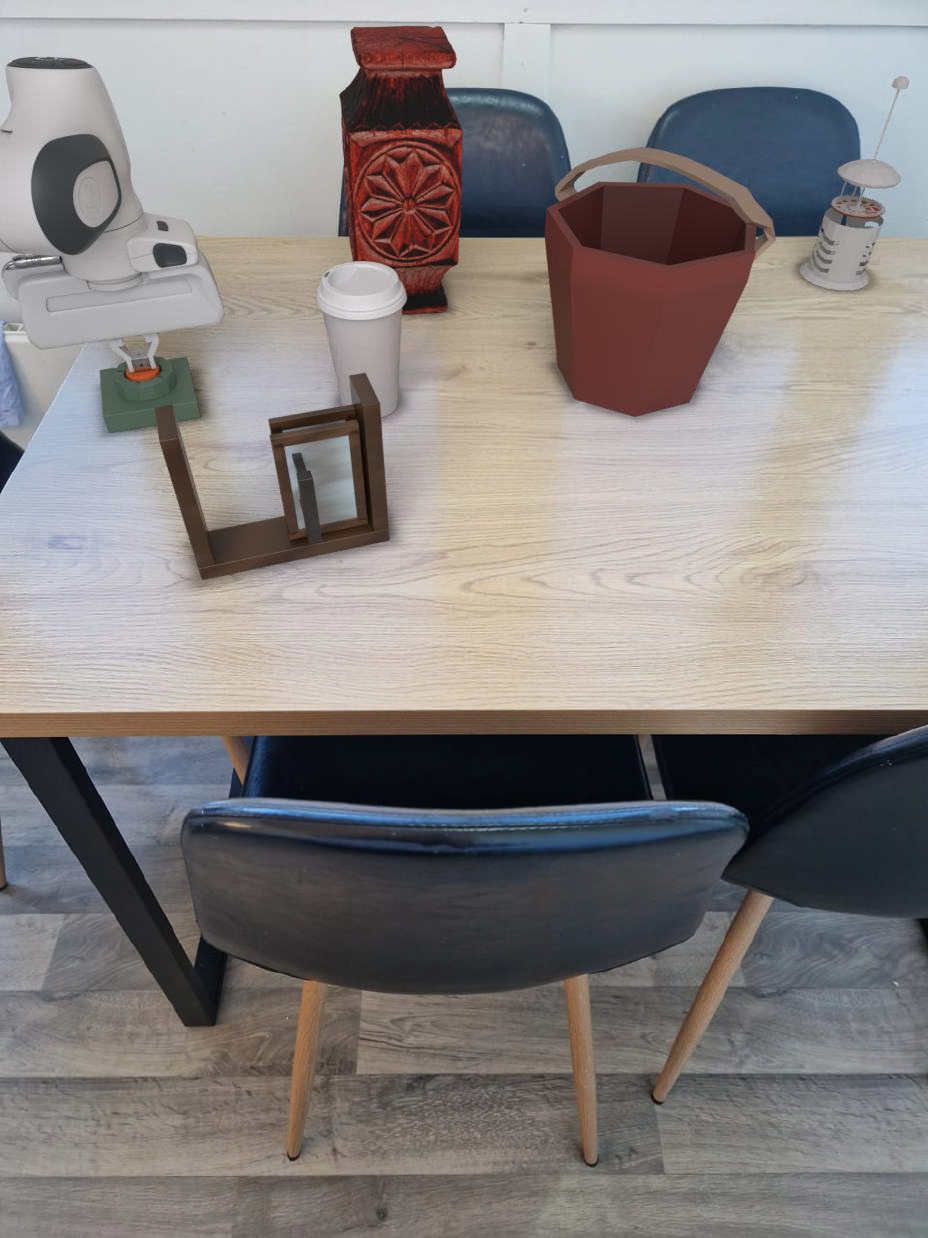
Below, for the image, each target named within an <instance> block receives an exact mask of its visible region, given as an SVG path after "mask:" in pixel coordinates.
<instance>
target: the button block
mask: <svg viewBox="0 0 928 1238" xmlns="http://www.w3.org/2000/svg"><path fill="white" fill-rule="evenodd" d="M154 358H155V362H156V364H157V365H158V366H159V370H160V374H159V375H158V376H157V377H154V378H152V379H150V380H146V381H140V382H139V381H131V380H128V378H127V375H126V369H127V367H128V365H127V362H126V360H124V361H123V362H120V363H119V364H118V365H117V366H116V367H109V368H103V369H99V380H100V392H101V404H102V416H103V419H104V423H105V425H106V429H107V431H108V433H109V434H112V433H118V432H119V433H120V432H126V431H131V430H136V429H143V428H149V427H155V426H157V424H156V417H155V411H154V407H160V406H166V405H173V408H174V411H175V415H176V418H177V422H178V423H179V422H183V421H190V420H195V419H201V417H202V416H201V412H200V407H199V402H198V398H197V394H196V389H195V383H194V380H193V375H192V370H191V366H190V363H189V359H188V356H182V357H175V358H168V359H167V358H164V357H162V356H155V355H154Z"/></svg>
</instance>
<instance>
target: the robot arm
mask: <svg viewBox="0 0 928 1238" xmlns="http://www.w3.org/2000/svg"><path fill="white" fill-rule="evenodd" d="M4 69H5V79H6V84H7V89H8V95H9V99H10V103H11V104H10V109H9V112H8V115H7V116H6V119H5V120H4V121H3V122H2V124H1V125H0V253H5V254H6V253H7V254H17V255H14V256H12V257H11V260H9V261H7V262H6V263H5V264H4V265H3V266H2V269H1V273H0V274H1V278H2V281H3V284H4V287H5V288H6V289H5V290H6V291H7V293H8V294H9V295H10V297H12V298H13V299H14V300H16V301H17V303H18V309H19V313H20V317H21V320H22V324H23V328H24V331H25V334H26V337H27V339H28V342H29V343H30V344H31V345H32V346H34V347H36V348H38V349H39V350H43V351H44V350H50V349H57V348H58V349H59V348H64V347H70V346H71V347H72V346H77V345H85V344H90V343H99V342H105V341H108V344H109V346H110V349H111V350H112V351H113V352H115V353H116V354H117V355H118V356H119V357H120V358H122V359H123V360H124V361H126V362H127V365H128V368H129V372H130V373H134V372H140V371H146V370H152V369H157V367H156V362H155V358H154V356H155V354H156V351H157V349H158V346H159V343H160V338H159V337H160V336H159V334H161V333H165V332H173V331H179V330H187V329H193V328H200V327H207V326H208V327H209V326H216V325H219V324H220V323H222V321H223V320H224V317H225V316H226V311H225V308H224V307H225V306H224V304H223V300H222V296H221V293H220V290H219V287H218V284H217V281H216V278H215V275H214V271H213V270H212V267H211V265H210V263H209V260H208V259H207V256H206V255H205V254H204V252H202V250H201V249H199V245H198V240H197V237H196V234H195V232H194V229H193V227H192V226H191V224H190V223H189V222H188V221H187V220H185V219H181V218H178V217H177V218H176V217H171V216H165V215H161V214H160V215H159V214H156V213H151V212H147V211H145V210H144V208H143V204H142V202H141V200H140V198H139V197H138V195H137V193H136V191H135V188H134V186H133V181H132V164H131V162H132V161H131V158H130V155H129V151H128V147H127V144H126V139H125V137H124V131H123V130H122V126H121V123H120V120H119V117H118V115H117V112H116V108H115V106H114V102H113V99H112V98H111V95H110V93H109V91H108V88H107V87H106V84H105V81H104V79H103V78H102V76H101V74H100V73H99V71H98V70H97V68H96V67H95V65H94V66H93V65H92V64H90V63H88V62H87V61H85V60H82V59H78V58H72V57H55V56H44V57H43V56H41V57H39V56H26V57H25V56H24V57H19V58H15V59H13V60H11V61H10V62H8V63H7V64H6V65H5V68H4ZM138 336H139V337H140V336H143V337H144V340H145V343H146V345H145V348H143V349H137V350H131V349H129V347H127V346H126V344H124V339H126V338H131V337H133V338H134V337H138Z"/></svg>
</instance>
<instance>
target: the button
mask: <svg viewBox="0 0 928 1238" xmlns="http://www.w3.org/2000/svg"><path fill="white" fill-rule="evenodd" d="M156 367H157V369H152V370H146V371H140V372H134V373H130V372H129V368H128V367H127V369H126V375H127V378H128V380H131V381H139V382H140V381H146V380H150V379H152V378H154V377H157V376H158V375H159V374H160V370H159V366H158V365H157V364H156Z"/></svg>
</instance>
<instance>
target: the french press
mask: <svg viewBox="0 0 928 1238" xmlns="http://www.w3.org/2000/svg"><path fill="white" fill-rule="evenodd" d="M909 85H910V80H909V78H908V77H907V76H904V75H901V76H897V77H896V78H894V79H893V81H892V84H891V87H892V88H893V89H896V92H895V96H894V99H893V101H892V104H891V107H890V110H889V113H888V116H887V119H886V121H885V124H884V127H883V130H882V133H881V135H880V139H879V142H878V144H877V147H876V150H875V153H874V156H873V158H866V159H865V158H864V159H863V158H862V159H856V160H851V161H848V162H846V163H844V164H843V165H841V166H839V167H838V169H837V174H838V176H839V177H840V178H841V179H842V180H843V181H844V183H843V187H842V189H841V192H840V194H839V196H836V197H834V198H832V200H830V207H829V208H828V209H827V210H826V211H825V212H824V215H823V217H822V223H820V227H819V231H818V233H817V236H816V239H815V243H814V246H813V249H812V252H811V255H810V258H809V260H808V261H806V262H804V263H803V264H802V265H801V266H800V267H799V274H800V276H802V278H803V279H804V280H806V281H808V282H809V283H811V284H812V285H815V286H817V287H821V288H823V289H827V290H835V291H856V290H859V289H864V288H865V286H867V285H868V284H869V283H870V277H869V275H868V273H867V272H866V270H867V267H868V265H869V263H870V262H869V261H870V259H871V257H872V254H873V252H874V248H875V246H876V243H877V242H878V238H879V236H880V233H881V231H882V229H883V226H884V225H883V224H884V220H885V219H884V218H883V217H882V216H883V214H885V213H886V206H884V205H883V203H881V202H879V201H877V200H876V199H873V198H869V197H867V196H863V195H864V193H865V189H872V190H885V189H886V190H887V189H892V188H895V187H896V186H897V185H899V184H900V183H901V182H902V176H901V175H900V174H899V173H898V172H897V170H896V169H895V168H894V167H893V166H892V165H890V164H888V163H886V162H883V161H881V160H879V159H877V156H878V153H879V150H880V147H881V144H882V142H883V138H884V136H885V134H886V133H885V132H886V130H887V127H888V125H889V121H890V119H891V116H892V114H893V110H894V107H895V104H896V102H897V99H898V96H899V93H900V91H901V90H908V87H909ZM847 183H848V184H849V185H852V186H853V187H854V189H853V192H852V195H851V194H844V191H845V188H846V186H847ZM858 187H859V188H862V191H861V193H860V196H859V195H857V194H856V192H857V189H858ZM843 194H844V195H843ZM844 216H846V220H845V221H846V222H845V223H846V224H845V225H843V224H842V221H843V219H844ZM871 222H872V223H876V224H878V226H871V225H866V223H871ZM822 229H823V232H822ZM835 242H838V243H837V245H835ZM868 244H870V245H871V247H870V246H869V245H868ZM832 251H833V252H834V254H832ZM866 254H868V255H866Z"/></svg>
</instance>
